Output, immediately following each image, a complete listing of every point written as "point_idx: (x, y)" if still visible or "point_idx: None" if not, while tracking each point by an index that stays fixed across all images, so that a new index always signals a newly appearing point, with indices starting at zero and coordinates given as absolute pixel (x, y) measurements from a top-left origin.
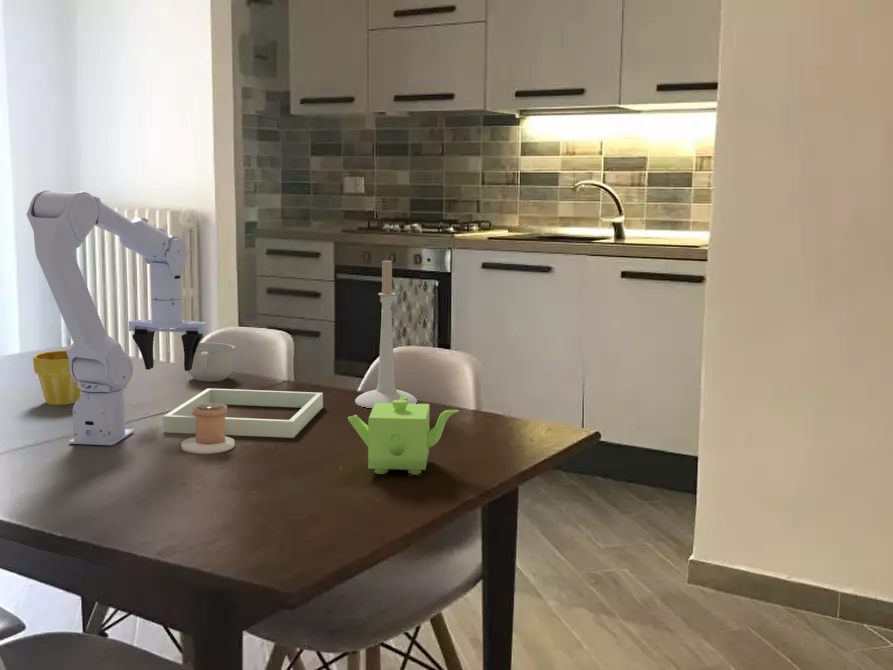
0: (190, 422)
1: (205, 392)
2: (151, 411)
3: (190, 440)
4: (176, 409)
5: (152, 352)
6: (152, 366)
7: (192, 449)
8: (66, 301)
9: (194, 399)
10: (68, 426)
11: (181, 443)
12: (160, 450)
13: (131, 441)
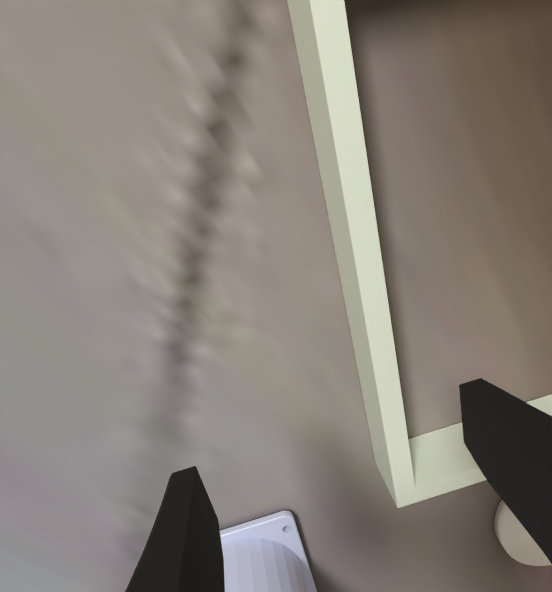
0: None
1: (346, 44)
2: (119, 250)
3: (520, 524)
4: (392, 421)
5: (186, 564)
6: (199, 482)
7: (549, 563)
8: None
9: (375, 237)
10: (17, 553)
11: (507, 551)
12: (456, 572)
13: (338, 560)
